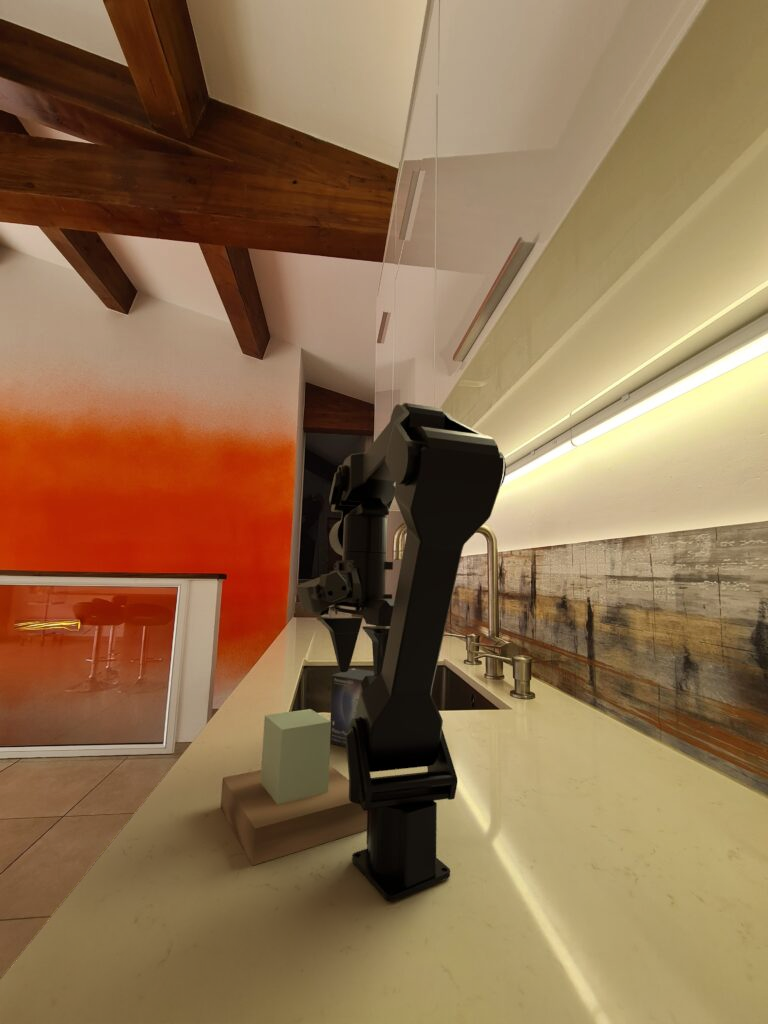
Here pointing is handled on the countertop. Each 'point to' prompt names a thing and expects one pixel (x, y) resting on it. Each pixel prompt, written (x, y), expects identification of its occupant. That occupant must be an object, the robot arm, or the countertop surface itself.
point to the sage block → (295, 755)
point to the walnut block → (288, 816)
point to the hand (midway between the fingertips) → (360, 678)
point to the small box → (345, 702)
